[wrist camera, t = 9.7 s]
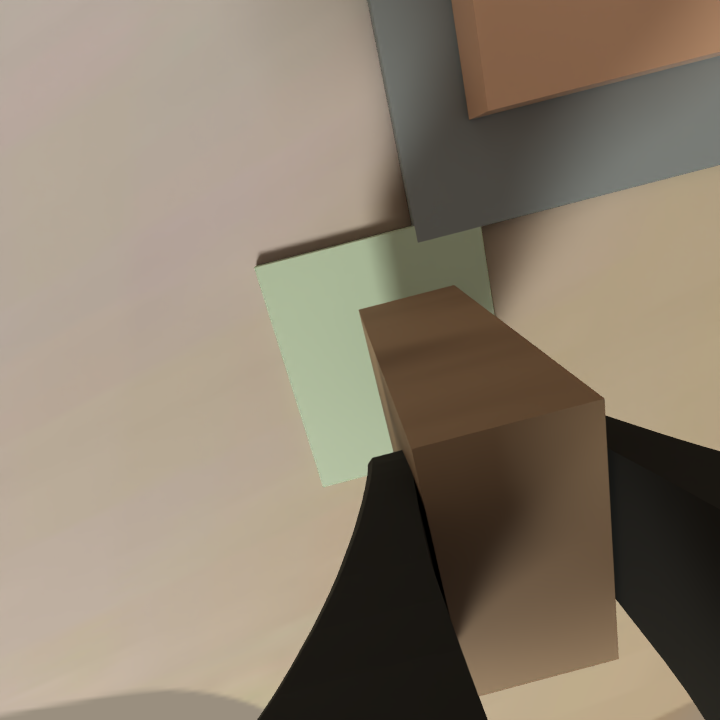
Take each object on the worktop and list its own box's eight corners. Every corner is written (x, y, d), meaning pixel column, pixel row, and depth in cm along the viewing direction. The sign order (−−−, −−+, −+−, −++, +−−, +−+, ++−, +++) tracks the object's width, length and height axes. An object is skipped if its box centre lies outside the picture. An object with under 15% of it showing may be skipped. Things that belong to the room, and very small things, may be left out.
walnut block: (481, 444, 15) (618, 658, 8) (397, 466, 15) (469, 699, 8) (454, 285, 13) (604, 399, 6) (358, 309, 13) (410, 448, 6)
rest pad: (509, 432, 18) (513, 437, 18) (323, 481, 18) (323, 487, 18) (474, 209, 15) (478, 210, 15) (255, 265, 15) (254, 268, 15)
